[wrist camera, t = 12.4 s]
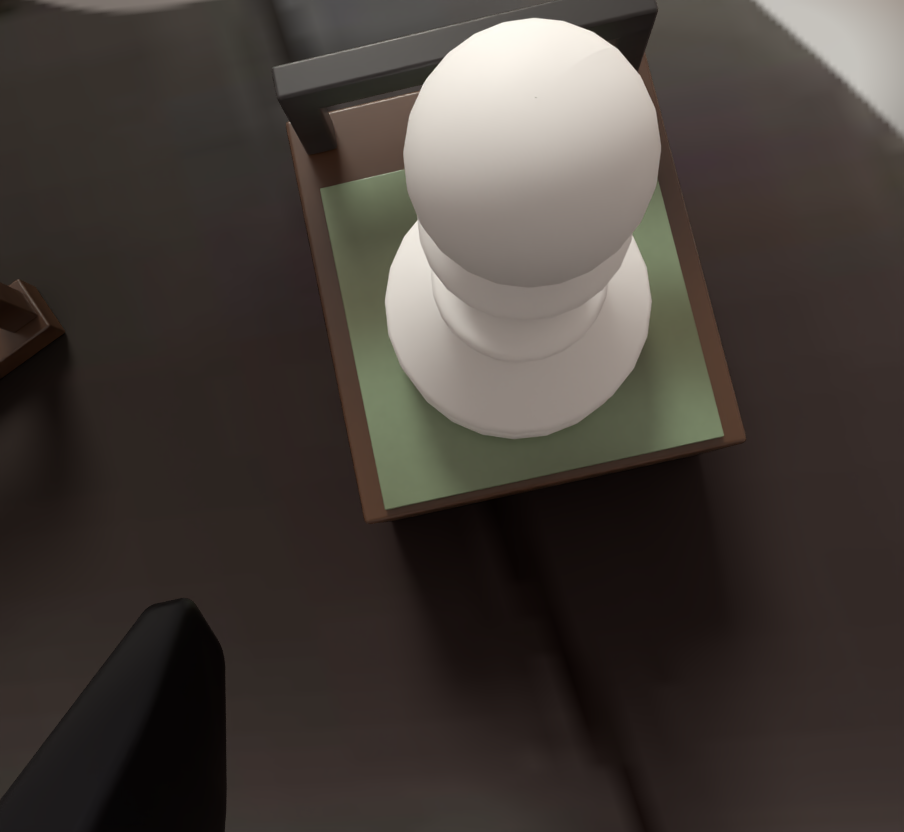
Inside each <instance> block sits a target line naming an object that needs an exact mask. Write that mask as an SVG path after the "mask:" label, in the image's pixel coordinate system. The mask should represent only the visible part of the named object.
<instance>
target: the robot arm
mask: <svg viewBox="0 0 904 832" xmlns="http://www.w3.org/2000/svg"><path fill="white" fill-rule="evenodd" d="M226 790H227V779H226V697H225V660H224V655H223V650H222V648H221V645H220V643H219V641H218V639H217V638H216V636H215V635H214V633H213V631H212V630H211V628H210V626H209V625H208V623H207V622H206V620H205V618H204V617H203V615H202V614H201V612H200V610H199V609H198V607H197V606H196V604H195V603H194V602H193V601H192V600H190V599H188V598H180V599H175V600H171V601H166V602H162V603H157V604H153V605H151V606H149V607H148V608H147V609H146V610H145V611H144V612H143V613H142V614H141V616H140V617H139V618H138V619H137V621H136V622H135V623H134V625H133V626H132V627H131V629H130V630H129V631H128V633H127V634H126V635H125V637H124V638H123V639H122V641H121V642H120V643H119V644H118V646H117V647H116V648H115V650H114V651H113V652H112V654H111V655H110V656H109V658H108V659H107V660H106V662H105V663H104V664H103V666H102V667H101V668H100V669H99V671H98V672H97V673H96V675H95V676H94V677H93V679H92V680H91V681H90V683H89V684H88V685H87V687H86V688H85V689H84V691H83V692H82V693H81V694H80V696H79V697H78V698H77V700H76V701H75V702H74V704H73V705H72V706H71V708H70V709H69V710H68V712H67V713H66V714H65V716H64V717H63V718H62V719H61V721H60V722H59V723H58V725H57V726H56V727H55V729H54V730H53V731H52V733H51V734H50V735H49V737H48V738H47V739H46V741H45V742H44V743H43V744H42V746H41V747H40V748H39V750H38V751H37V752H36V754H35V755H34V756H33V758H32V759H31V760H30V762H29V763H28V764H27V766H26V767H25V768H24V769H23V771H22V772H21V773H20V775H19V776H18V777H17V779H16V780H15V781H14V783H13V784H12V785H11V787H10V788H9V789H8V791H7V792H6V793H5V794H4V796H3V797H2V798H1V800H0V832H225V819H226Z"/></svg>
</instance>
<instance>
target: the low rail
mask: <svg viewBox="0 0 904 832" xmlns="http://www.w3.org/2000/svg"><path fill="white" fill-rule="evenodd" d="M64 333H65V330H64V329H63V327H62V326H61V324H60V323H59V321H58V320H57V318H56V317H55V315H54V314H53V312H52V311H51V309H50V308H49V306H48V305H47V303H46V302H45V300H44V299H43V298H42V296H41V295H40V293H39V292H38V290H37V289H36V287H34V286H32V285H30V284H28V283H26V282H24V281H22V280H20V279H18V280H16V281H15V282H13V283H12V284H11V285H9V286H7V285H5V284H3V283H0V379H1V378H3V377H4V376H5V375H7V374H8V373H10V372H11V371H12V370H14V369H15V368H16V367H18V366H19V365H21V364H22V363H23V362H25V361H26V360H28V359H29V358H30V357H32V356H33V355H34V354H36V353H37V352H39V351H40V350H41V349H43V348H44V347H46V346H47V345H48V344H50V343H51V342H53V341H54V340H55V339H57V338H58V337H59V336H61V335H62V334H64Z"/></svg>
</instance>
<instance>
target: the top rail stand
mask: <svg viewBox="0 0 904 832" xmlns="http://www.w3.org/2000/svg"><path fill="white" fill-rule="evenodd" d="M657 12H658V6H657V2H656V0H554V1H549V2H545V3H541V4H537V5H533V6H528V7H524V8H520V9H516V10H511V11H507V12H503V13H499V14H494V15H490V16H486V17H482V18H478V19H473V20H469V21H465V22H461V23H456V24H452V25H448V26H444V27H440V28H435V29H431V30H427V31H423V32H418V33H414V34H410V35H406V36H401V37H397V38H393V39H389V40H385V41H380V42H376V43H372V44H368V45H363V46H359V47H355V48H351V49H346V50H342V51H338V52H334V53H330V54H325V55H321V56H317V57H313V58H308V59H304V60H300V61H296V62H292V63H287V64H283V65H279V66H275V67H273V68H272V76H273V81H274V86H275V91H276V96H277V99H278V101H279V103H280V105H281V107H282V109H283V110H284V112H285V114H286V116H287V118H288V119H289V121H288V122H287V123H286V129H287V134H288V139H289V144H290V149H291V154H292V159H293V165H294V170H295V175H296V180H297V185H298V190H299V195H300V200H301V205H302V210H303V215H304V220H305V225H306V230H307V235H308V240H309V245H310V250H311V255H312V260H313V265H314V270H315V275H316V280H317V285H318V290H319V295H320V300H321V305H322V310H323V315H324V320H325V325H326V330H327V335H328V340H329V345H330V350H331V355H332V360H333V365H334V370H335V375H336V380H337V385H338V390H339V395H340V400H341V405H342V410H343V415H344V420H345V425H346V430H347V435H348V440H349V445H350V450H351V456H352V461H353V466H354V471H355V476H356V481H357V486H358V491H359V496H360V501H361V506H362V511H363V516H364V520H365V522H366V523H368V524H373V523H381V522H388V521H395V520H400V519H404V518H409V517H414V516H418V515H423V514H427V513H432V512H437V511H441V510H446V509H450V508H455V507H460V506H464V505H469V504H473V503H478V502H483V501H487V500H492V499H497V498H501V497H506V496H510V495H515V494H520V493H524V492H529V491H533V490H538V489H543V488H547V487H552V486H556V485H561V484H566V483H570V482H575V481H579V480H584V479H589V478H593V477H598V476H603V475H607V474H612V473H616V472H621V471H626V470H630V469H635V468H639V467H644V466H649V465H653V464H658V463H662V462H667V461H672V460H676V459H681V458H685V457H690V456H695V455H699V454H703V453H706V452H710V451H714V450H718V449H722V448H726V447H729V446H733V445H737V444H741V443H743V442H745V441H746V435H745V431H744V427H743V423H742V419H741V416H740V412H739V408H738V404H737V400H736V397H735V393H734V389H733V385H732V381H731V377H730V374H729V370H728V366H727V362H726V358H725V355H724V351H723V347H722V343H721V339H720V336H719V332H718V328H717V324H716V320H715V317H714V313H713V309H712V305H711V301H710V298H709V294H708V290H707V286H706V282H705V279H704V275H703V271H702V267H701V263H700V259H699V256H698V252H697V248H696V244H695V240H694V237H693V233H692V229H691V225H690V221H689V218H688V214H687V210H686V206H685V202H684V199H683V195H682V191H681V187H680V183H679V180H678V176H677V172H676V168H675V164H674V161H673V157H672V153H671V149H670V145H669V141H668V138H667V134H666V130H665V126H664V122H663V119H662V115H661V111H660V107H659V103H658V100H657V96H656V92H655V88H654V84H653V81H652V77H651V73H650V69H649V65H648V62H647V58H646V54H645V49H646V46H647V43H648V39H649V36H650V33H651V30H652V28H653V25H654V22H655V18H656V15H657ZM530 18H540V19H550V20H559V21H565V22H568V23H570V24H573V25H576V26H578V27H581V28H584V29H587V30H589V31H592V32H594V33H595V34H597V35H598V36H600V37H601V38H603V39H604V40H605V41H607V42H608V43H610V44H611V45H613V46H614V47H615V48H617V49H618V50H619V51H620V52H621V53H622V54H623V56H624V57H625V58H626V59H627V60H628V62H629V63H630V64H631V65H632V66H633V68H634V69H635V70H636V71H637V72H638V74H639V75H640V76H641V78H642V80H643V83H644V85H645V87H646V89H647V91H648V94H649V96H650V98H651V100H652V102H653V105H654V107H655V110H656V115H657V122H658V128H659V135H660V142H661V154H660V162H659V169H658V177H657V184H656V188H655V190H654V193H653V195H652V197H651V200H650V202H649V205H648V207H647V209H646V212H645V214H644V216H643V219H642V221H641V223H640V224H639V225H638V226H637V228H636V229H635V230H634V231H633V233H632V236H633V237H634V240H635V242H636V244H637V246H638V249H639V251H640V253H641V255H642V258H643V260H644V262H645V265H646V267H647V272H648V279H649V286H650V293H651V299H652V304H651V312H650V320H649V328H648V336H647V338H646V341H645V343H644V346H643V348H642V350H641V353H640V355H639V358H638V360H637V362H636V365H635V367H634V369H633V370H632V371H631V373H630V374H629V375H628V377H627V378H626V379H625V380H624V382H623V383H622V384H621V385H620V387H619V388H618V389H617V391H616V392H615V393H614V394H613V396H612V397H610V398H609V399H608V400H607V401H606V402H605V403H604V404H603V405H601V406H600V407H599V408H597V409H596V410H595V411H593V412H592V413H591V414H589V415H588V416H587V417H585V418H584V419H583V420H581V421H580V422H579V423H577V424H575V425H572V426H570V427H567V428H565V429H562V430H560V431H557V432H554V433H552V434H549V435H547V436H539V437H530V438H521V439H508V438H502V437H495V436H488V435H482V434H479V433H477V432H475V431H472V430H470V429H468V428H465V427H463V426H461V425H458V424H456V423H454V422H452V421H450V420H449V419H448V418H447V417H445V416H444V415H443V414H442V413H440V412H439V411H438V410H437V409H435V408H434V407H433V406H431V405H430V404H429V403H428V402H427V401H426V400H425V399H424V397H423V396H422V395H421V393H420V392H419V391H418V389H417V388H416V387H415V385H414V384H413V382H412V381H411V380H410V378H409V377H408V376H407V374H406V373H405V372H404V370H403V369H402V368H401V366H400V363H399V361H398V358H397V356H396V353H395V351H394V348H393V345H392V343H391V340H390V338H389V335H388V327H387V318H386V308H385V296H386V290H387V284H388V278H389V272H390V267H391V265H392V262H393V260H394V258H395V256H396V253H397V251H398V249H399V247H400V245H401V242H402V240H403V238H404V236H405V235H406V234H407V232H408V231H409V230H410V229H411V228H412V226H413V225H414V224H415V223H416V221H417V214H416V212H415V209H414V207H413V204H412V202H411V199H410V197H409V194H408V191H407V185H406V176H405V166H404V157H403V151H404V145H405V139H406V132H407V126H408V120H409V115H410V113H411V110H412V108H413V106H414V104H415V101H416V99H417V97H418V95H419V93H420V91H421V90H420V91H416V92H412V93H407V94H403V95H399V96H395V97H390V98H386V99H382V100H377V101H373V102H369V103H365V104H360V105H356V106H352V107H348V108H343V109H339V110H335V111H331V112H328V110H327V108H326V107H329V106H333V105H337V104H341V103H346V102H350V101H354V100H358V99H363V98H367V97H371V96H375V95H380V94H384V93H388V92H393V91H397V90H401V89H405V88H410V87H414V86H418V85H422V84H424V82H425V81H426V79H427V78H428V77H429V75H430V74H431V73H432V72H433V70H434V69H435V68H436V67H437V66H438V64H439V63H440V62H441V61H442V60H443V58H444V57H445V56H446V55H447V54H448V53H449V52H450V51H452V50H453V49H454V48H456V47H457V46H458V45H460V44H461V43H463V42H464V41H465V40H467V39H468V38H469V37H471V36H472V35H474V34H475V33H478V32H480V31H483V30H485V29H488V28H490V27H493V26H495V25H498V24H500V23H503V22H508V21H515V20H522V19H530Z"/></svg>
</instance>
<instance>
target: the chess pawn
mask: <svg viewBox="0 0 904 832" xmlns="http://www.w3.org/2000/svg"><path fill="white" fill-rule="evenodd" d="M660 154H661V142H660V135H659V128H658V122H657V115H656V110H655V107H654V105H653V102H652V100H651V98H650V96H649V94H648V91H647V89H646V87H645V85H644V83H643V80H642V78H641V76H640V75H639V74H638V72H637V71H636V70H635V69H634V68H633V66H632V65H631V64H630V63H629V62H628V60H627V59H626V58H625V57H624V56H623V54H622V53H621V52H620V51H619V50H618V49H617V48H615V47H614V46H613V45H611V44H610V43H608V42H607V41H605V40H604V39H603V38H601V37H600V36H598V35H597V34H595V33H594V32H592V31H589V30H587V29H584V28H581V27H578V26H576V25H573V24H570V23H568V22H565V21H559V20H550V19H540V18H530V19H522V20H515V21H508V22H503V23H500V24H498V25H495V26H493V27H490V28H488V29H485V30H483V31H480V32H478V33H475V34H474V35H472V36H471V37H469V38H468V39H467V40H465V41H464V42H463V43H461V44H460V45H458V46H457V47H456V48H454V49H453V50H452V51H450V52H449V53H448V54H447V55H446V56H445V57H444V58H443V60H442V61H441V62H440V63H439V64H438V66H437V67H436V68H435V69H434V70H433V72H432V73H431V74H430V75H429V77H428V78H427V79H426V81H425V82H424V84H423V86H422V88H421V91H420V93H419V95H418V97H417V99H416V101H415V104H414V106H413V108H412V110H411V113H410V115H409V120H408V126H407V132H406V139H405V145H404V151H403V157H404V166H405V176H406V185H407V191H408V194H409V197H410V199H411V202H412V204H413V207H414V209H415V212H416V214H417V221H416V223H415V224H414V225H413V226H412V228H411V229H410V230H409V231H408V232H407V234H406V235H405V236H404V238H403V240H402V242H401V245H400V247H399V249H398V251H397V253H396V256H395V258H394V260H393V262H392V265H391V267H390V272H389V278H388V284H387V290H386V296H385V308H386V318H387V327H388V335H389V338H390V340H391V343H392V345H393V348H394V351H395V353H396V356H397V358H398V361H399V363H400V366H401V368H402V369H403V370H404V372H405V373H406V374H407V376H408V377H409V378H410V380H411V381H412V382H413V384H414V385H415V387H416V388H417V389H418V391H419V392H420V393H421V395H422V396H423V397H424V399H425V400H426V401H427V402H428V403H429V404H430V405H431V406H433V407H434V408H435V409H437V410H438V411H439V412H440V413H442V414H443V415H444V416H445V417H447V418H448V419H449V420H450V421H452V422H454V423H456V424H458V425H461V426H463V427H465V428H468V429H470V430H472V431H475V432H477V433H479V434H482V435H488V436H495V437H502V438H508V439H521V438H530V437H539V436H547V435H549V434H552V433H554V432H557V431H560V430H562V429H565V428H567V427H570V426H572V425H575V424H577V423H579V422H580V421H581V420H583V419H584V418H585V417H587V416H588V415H589V414H591V413H592V412H593V411H595V410H596V409H597V408H599V407H600V406H601V405H603V404H604V403H605V402H606V401H607V400H608V399H609V398H610V397H612V396H613V394H614V393H615V392H616V391H617V389H618V388H619V387H620V385H621V384H622V383H623V382H624V380H625V379H626V378H627V377H628V375H629V374H630V373H631V371H632V370H633V369H634V367H635V365H636V362H637V360H638V358H639V355H640V353H641V350H642V348H643V346H644V343H645V341H646V338H647V336H648V328H649V320H650V312H651V304H652V299H651V293H650V286H649V279H648V272H647V267H646V265H645V262H644V260H643V258H642V255H641V253H640V251H639V249H638V246H637V244H636V242H635V240H634V237H633V236H632V233H633V231H634V230H635V229H636V228H637V226H638V225H639V224H640V223H641V221H642V219H643V216H644V214H645V212H646V209H647V207H648V205H649V202H650V200H651V197H652V195H653V193H654V190H655V188H656V184H657V177H658V169H659V162H660Z"/></svg>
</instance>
